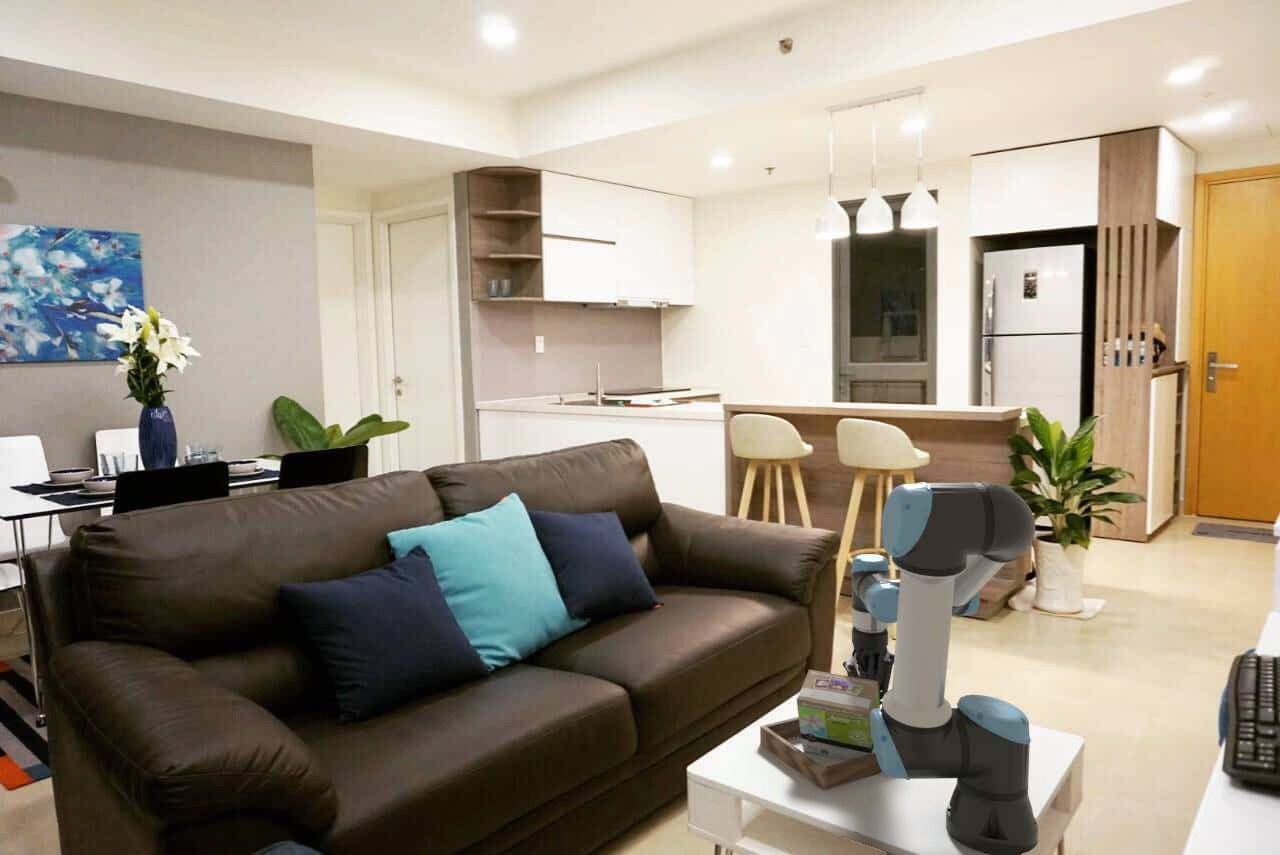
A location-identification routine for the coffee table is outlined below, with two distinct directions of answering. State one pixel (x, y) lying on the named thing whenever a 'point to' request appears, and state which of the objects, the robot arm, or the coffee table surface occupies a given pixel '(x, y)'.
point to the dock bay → (822, 776)
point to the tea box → (837, 714)
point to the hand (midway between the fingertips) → (869, 731)
